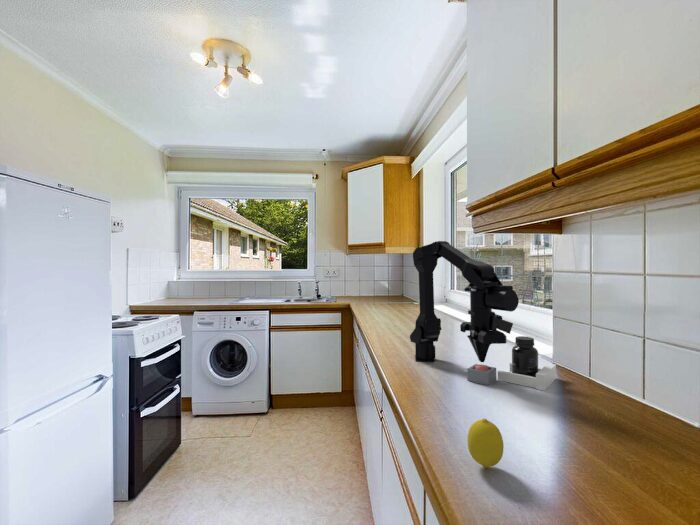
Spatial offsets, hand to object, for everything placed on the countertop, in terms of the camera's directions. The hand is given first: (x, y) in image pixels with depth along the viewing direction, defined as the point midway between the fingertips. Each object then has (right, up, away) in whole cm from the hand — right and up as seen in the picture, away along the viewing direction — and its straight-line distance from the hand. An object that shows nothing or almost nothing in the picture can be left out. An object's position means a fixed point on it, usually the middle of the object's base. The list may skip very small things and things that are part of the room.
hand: (481, 361), depth 98 cm
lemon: (-16, -5, -42) cm, 45 cm away
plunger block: (0, -5, 0) cm, 5 cm away
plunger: (0, -5, 0) cm, 5 cm away
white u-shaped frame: (+13, -5, +1) cm, 14 cm away
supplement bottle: (+13, -5, +1) cm, 14 cm away
